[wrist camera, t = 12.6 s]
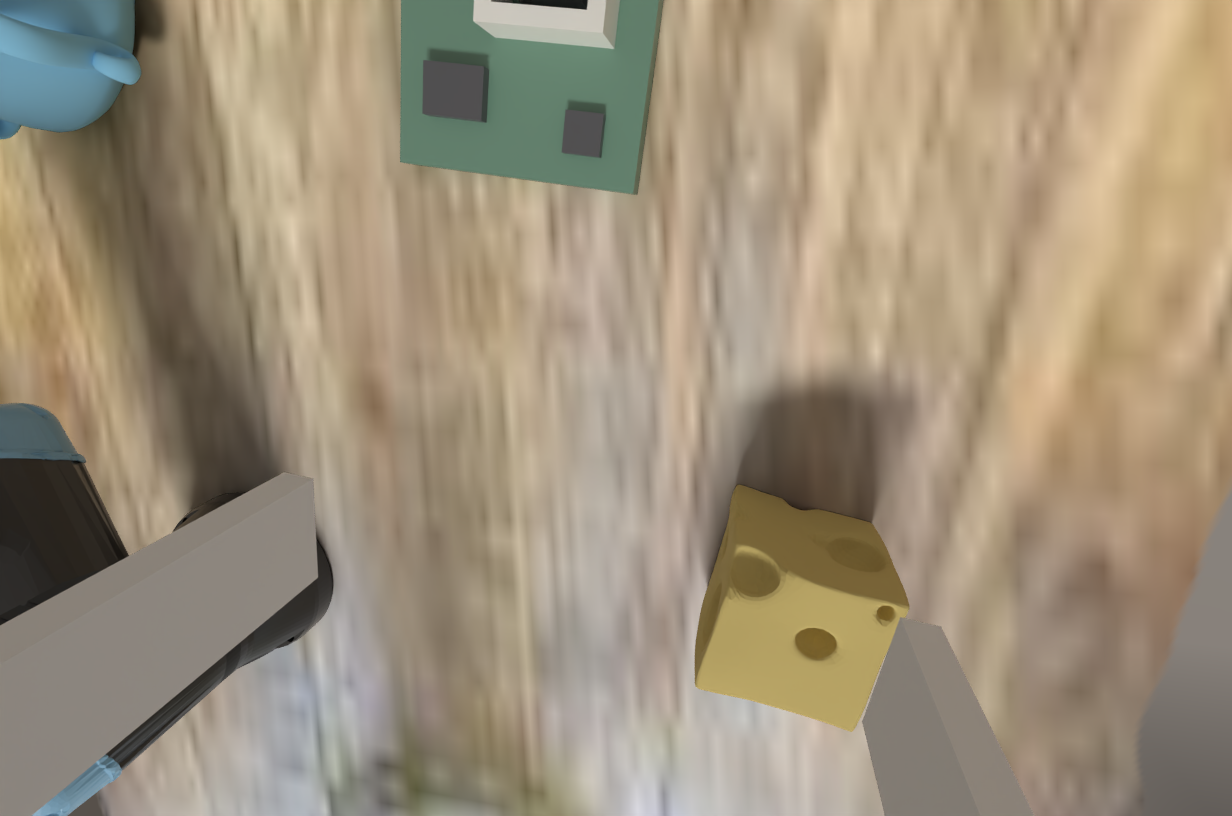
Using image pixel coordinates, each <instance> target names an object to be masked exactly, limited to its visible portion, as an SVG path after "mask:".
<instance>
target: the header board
mask: <svg viewBox="0 0 1232 816" xmlns="http://www.w3.org/2000/svg"><path fill="white" fill-rule="evenodd" d="M663 1H664V0H588V5H587V10H583V9H572V8H560V7H548V6H537V5H525V4H521V3H520V2H519V1H518V0H401V133H400V162H402V163H408V164H414V165H421V166H428V167H436V168H443V169H450V170H458V171H465V172H472V173H480V174H487V175H495V176H502V177H509V178H517V179H524V180H531V181H539V182H546V183H553V184H561V185H568V186H576V187H583V188H590V189H598V190H605V191H612V192H620V193H627V194H634V195H637V193H638V186H639V178H640V171H641V164H642V156H643V149H644V141H645V134H646V127H647V119H648V112H649V105H650V97H651V90H652V82H653V75H654V68H655V60H656V53H657V45H658V38H659V31H660V23H661V16H662V8H663Z"/></svg>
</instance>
